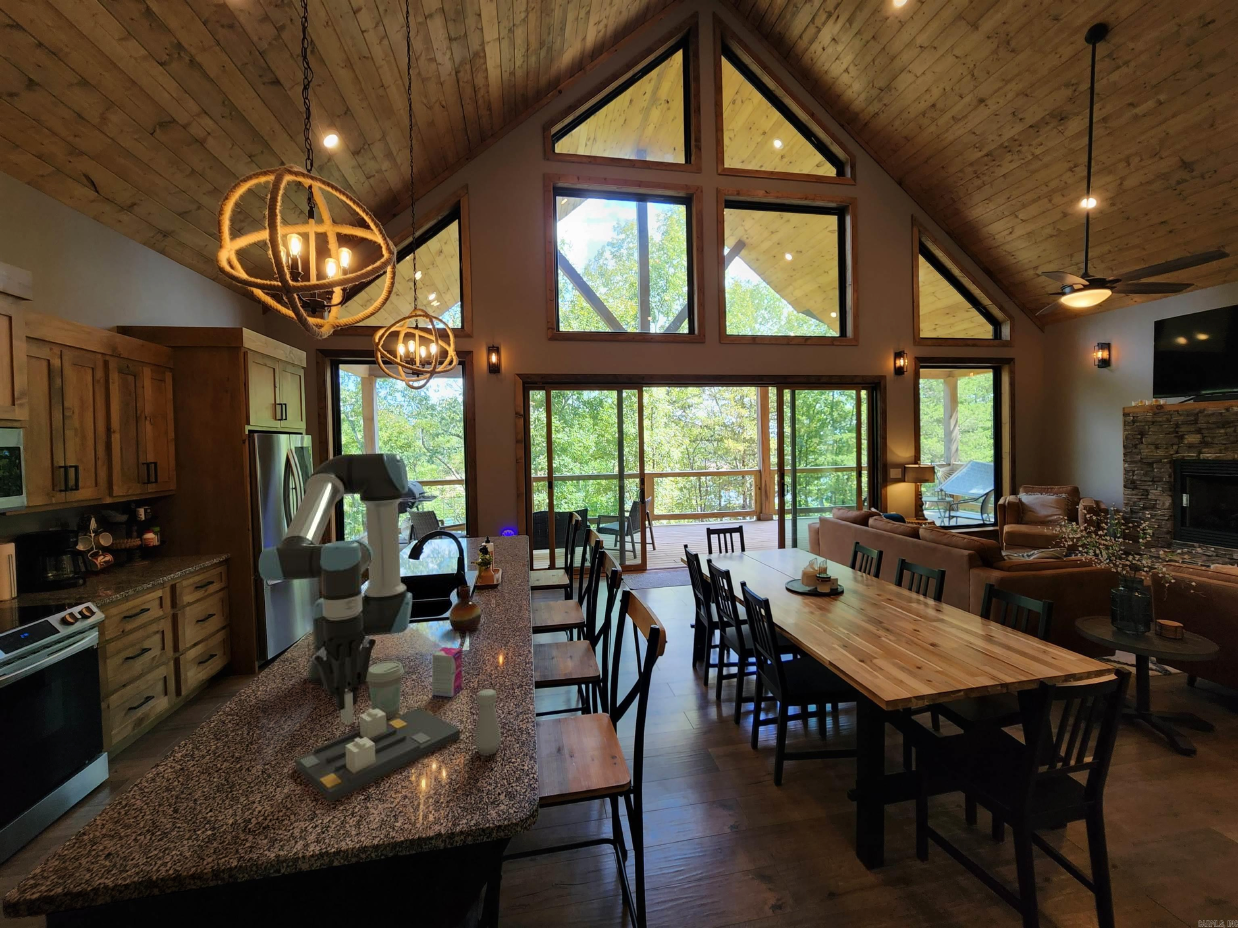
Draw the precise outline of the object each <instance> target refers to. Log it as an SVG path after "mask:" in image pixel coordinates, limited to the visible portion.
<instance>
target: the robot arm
mask: <svg viewBox="0 0 1238 928" xmlns="http://www.w3.org/2000/svg"><path fill="white" fill-rule="evenodd" d="M304 487H305V488H304V489H305V494H304V496H303V498H302V500H301V502H300V504H299V505H298V508H297V510H296V512H295V514H294V516H293V518H292V520H291V522H290V524H289V526H288V527H287V530H286V533H285V534H284V536H283V538H282V540H281V541H280V544H279V546H273V547H271V546H270V547H267V548H264V549H263V550H262V551H261V553H260V555H259V559H258V571H259V575H260V576H261V579H262V580H264V581H267V582H268V581H269V582H271V581H272V582H273V581H274V582H275V581H276V582H277V581H279V582H286V581H296V580H308V579H310V580H311V579H321V593H322V597H321V598H319V599H318V600H317V601H315V603H314V604H313V607H312V608H313V609H312V617H311V619H312V623H313V624H312V628H313V646H314V647H313V650H314V651H313V653H312V654H311V655H310V659H311V661H310V663H309V667H308V670H307V678H308V679H307V680H308V681H309V682H310V683H311V684H316V685H323V688H324V691H325V692H326V694H328V695H329V696H331V697H335V707H336V708H337V710H338V711H340V721H341V723H343V724H345V725H346V726H347V725H350V724H353V723H354V722H355V721H354V720H355V718H354V706H356V705H357V703H358V692H359V691H360V688H359V687H361V686H364V685H365V684H366V682H367V679H366V678H367V673H368V670H369V668H370V661H371V656H372V651H373V648H374V647H375V645H376V643H377V640H376V639H375V638H373V637H372V636H383V635H392V634H400V633H404V632H406V631H407V629H408V627H409V625H410V618H411V612H412V605H413V594H412V593H411V592H409V591H407V586H406V585H405V584H404V583H402V582H401V581H402V580H401V561H400V560H401V559H400V558H401V557H400V555H401V554H400V533H399V532H400V529H399V526H400V525H399V503H400V502H402V500H403V499H404V494H405V493H407V492H408V491H409V477H408V472H407V467H406V463H405V461H404V458H403V457H402V456H401V455H400V454H398V453H390V452H389V453H387V452H382V453H381V452H380V453H376V452H375V453H344V454H341V455H336V456H334V457H332V458H329V459H328V460H326V461H324V462H323V463H321V464H320V465H319V466H317V467H316V468H315V470H314V471H313V472H312V473H311V474H310V475H309V477H308V479H307V481H306V483H305V486H304ZM344 495H359V502H360V503H362V504H363V505H365V509H366V510H365V512H366V513H365V515H366V534H367V542H366V541H365V540H361V539H353V540H339V541H332V542H330V543H329V542H328V543H326V544H325V543H324V544H319V543H320V541H321V539H322V537H323V534H324V532H325V529H326V527H327V524H328V523H329V520H330V518H331V514H332V513H333V510H334V508H335V505H336V503H337V502H338V501H339V500H341V499H342V497H344ZM366 570H368V582H369V583H368V584H369V585H368V586H367V587H366V588H365V590H363V589H362V574H363V573H364V572H365V571H366ZM362 591H363V592H362Z"/></svg>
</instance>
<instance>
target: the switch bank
mask: <svg viewBox="0 0 1238 928" xmlns="http://www.w3.org/2000/svg"><path fill="white" fill-rule="evenodd" d="M460 730H461V729H460V728H457V727H456V726H454V725H452V724H450V723H449V722H448V721H445V720H443V719H442V718H440V717H438V716H437V715H435V714H433V713H431V712H430V711H428V710H426V709H424V708H422V707H421V706H419V707H417V708H414V709H412V710H410V711H407V712H404V713H402V714H401V715H398V716H397V715H396V716H395V717H393V718H390V719H387V720H386V732H384V733H381V734H379V735H377V736H375V737H372V738H370V739H369V740H371V741H372V742H373V743H375V764H373V765H370V766H368V767H366V768H364V769H362V770H360V771H358V772H356V773H352V772H351V771H350V770H349V769H348V768H346V745H348V744H350V743H352V742H355V740H354V739H356V738H360V739H362V738H364V737H362V736H361V735H360V728H359V729H356V730H354V731H352V732H348V733H346V734H344V735H342V736H339V737H337V738H334V739H332V740H329V741H327V742H325V743H322V744H320V745H318V746H314V750H313V751H312V752H309V753H306V754H305V755H302V756H299V757H298V758H295V759H294V761H295V762H294V763H295V765H294V766H295V770H296V771H297V772H298V773H299V774H300V775H302V777H303V778H305V780H306V781H308V783H310V784H311V785H312V786H313V787H314V789H316V790H317V791H318V793H320V794H321V795H322V796H323V797H324V798H325V799H326V800H327V801H328V802H329V803H330V804H331V803H333V802H335V801H337V800H339V799H341V798H343V797H345V796H347V795H349V794H351V793H353V792H355V791H357V790H359V789H361V788H363V787H365V786H367V785H369V784H371V783H372V782H376V781H378V780H380V779H382V778H383V777H385V776H387V775H389V774H392V773H393V772H396V771H397V770H399V769H401V768H403V767H406V766H407V765H409V764H412V763H413V762H415V761H417V760H419V759H422V758H423V757H426V756H427V755H429V754H431V753H433V752H436V751H437V750H439V749H441V748H443V747H445V746H447V745H449V744H452V743H453V742H455V741H457V740H459V739H460V738H461V731H460Z"/></svg>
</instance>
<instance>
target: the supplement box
mask: <svg viewBox="0 0 1238 928" xmlns="http://www.w3.org/2000/svg"><path fill="white" fill-rule="evenodd" d="M462 661H463V649H462V648H457V647H454V648H453V647H448V646H447V647H445V646H443V647H442V648H440V649H439V650H437V651H436V652H435V653H433V654H432V697H433V698H441V699H453V698H454V696H455V695H457V694H458V693H460V691H462V690H463V686H462V685H463V673H462V672H463V667H462V665H463V663H462Z"/></svg>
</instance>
